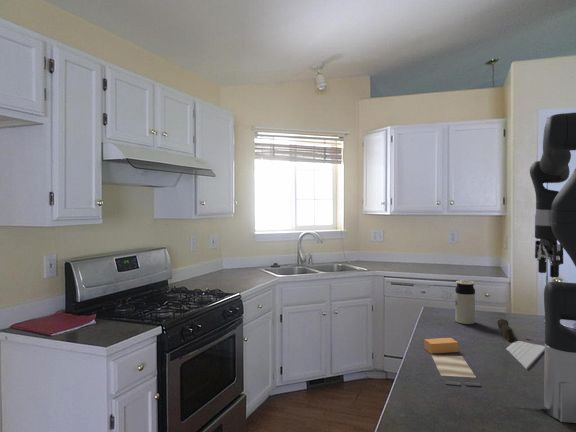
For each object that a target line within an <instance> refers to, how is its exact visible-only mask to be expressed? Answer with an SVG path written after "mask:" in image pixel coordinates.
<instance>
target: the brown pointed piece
mask: <svg viewBox="0 0 576 432" xmlns="http://www.w3.org/2000/svg"><path fill="white" fill-rule="evenodd" d="M497 326H498V328H499V330H500V331H501V332H502V335H503V338H504V339H505V340H506V341H508V342H510V341H511V342H512V340H511V339H512V333H513V331H512V327H510V325H509V321H508V320H507V319H502V318H501V319H499V320H497Z"/></svg>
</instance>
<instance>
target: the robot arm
mask: <svg viewBox="0 0 576 432" xmlns="http://www.w3.org/2000/svg"><path fill="white" fill-rule="evenodd" d="M571 151H576V112H566V113H565V112H563V113H557V114H552V115H550V116H549V117H548V118H547V120H546V122H545V126H544V127H543V139H542V155H541V158H540V160H537V161H534V162H533V163H532V164H531V166H529V167H530V168H529V175H530V178H531V181H532V184H533V188H534V192H535V201H536V202H535V214H534V238H535V239H536V240H535V243H534V246H535V247H534V258H535V259H536V260H537V263H538V266H537V267H538V269H537V270H538V273H539V274H546V273H547V263H548V262H549V266H550V267H549V277H550V278H552V279H553V278H555V279H556V278H559V277H560V265H563V264H564V250H565V252H566V254H567V255H568V256H569V258H570V259H571V261H572V263H573V265H574V266H575V268H576V168H574V170H573V172H572V174H571V175H570V166H569V163H570V162H571V160H572V158H571V157H572V154H571ZM569 176H570V177H569ZM565 181H566V182H565ZM564 182H565V184H564V185H563V186H562V187H561V189H560V190H554V189H548V188H546V187H545V186H544V184H558V183H559V184H560V183H564ZM558 243H559V244H558ZM547 260H548V262H547ZM543 307H544V346H545V350H544V363H543V364H544V372H543V373H544V379H543V383H544V385H543V389H544V390H543V405H544V407H545V408H543V411H544V412H545V413H546V414H547V415H548V416H551V417H552V418H554V419H556V420H559V422H560V423H572V424H576V331H575V330H572V329H571V328H568V327H566V326H565V325H563V324H562V323H561V320H564V321H574V322H576V282H567V281H566V282H563V281H548V282H547V283H546V284H545V286H544V289H543Z"/></svg>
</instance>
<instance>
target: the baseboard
mask: <svg viewBox="0 0 576 432" xmlns="http://www.w3.org/2000/svg"><path fill="white" fill-rule="evenodd" d="M516 339H519V338H517V337H516ZM521 340H523V341H521ZM521 340H517V341H515V338H513V339H512V338H511V341H512V343H510V345H508V346H507V347H506V348H505V350H507V351H508V352H509V354H511V355H512V356H513V357H514V358H515V360H517V362H519V363H520V364H521V365H522V366H523V367H524V368H525V369H526V370H528V369H529V368H530V367H531V366H532V365H533V364H534V363H535V361H536V360H537V359H538V358H539V357H540V356H541V355H542V354H543V353H545V345H544V342H543V343H542V342H541V344H543V345H541V344H539V342H538V341H536V343H538V344H536V343H532V342H534V341H533V340H532V339H530V338H526V341H528V342H526V341H524V339H522V338H521ZM530 342H531V343H530Z"/></svg>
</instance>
